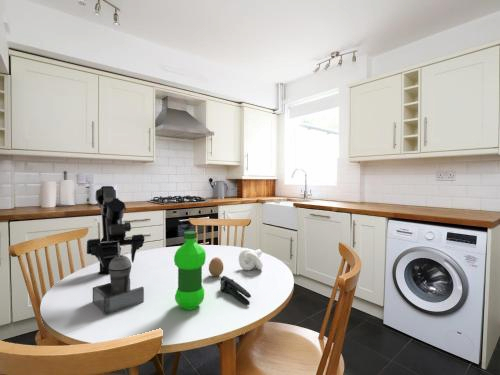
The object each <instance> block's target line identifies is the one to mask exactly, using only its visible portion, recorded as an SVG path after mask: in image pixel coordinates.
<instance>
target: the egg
mask: <svg viewBox="0 0 500 375" xmlns="http://www.w3.org/2000/svg"><path fill="white" fill-rule="evenodd" d="M223 271H224V263H223V260H222V259H221V258H219V257H213V258H212V259H211V260H210V261H209V264H208V272H209V274H210V275H211V276H213V277H219V276H221V275H222V273H223Z"/></svg>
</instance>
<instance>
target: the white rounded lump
mask: <svg viewBox="0 0 500 375" xmlns="http://www.w3.org/2000/svg"><path fill="white" fill-rule="evenodd" d="M262 252H263V251H262V250H261V249H260V248H259V249H256V250H255V252H254V251H253V250H251V249H250V248H244V249H243V250H241V251H240V252H239V255H238V264H239V266H240V268H241V269H242V270H243V271H247V270H248V271H250V270H252V269H254V267H255V269H257V270H259V271H261V270H262V269H263V266H264V265H263V262H262V261H261V259H260V257H261V255H262Z"/></svg>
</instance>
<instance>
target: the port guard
mask: <svg viewBox="0 0 500 375" xmlns="http://www.w3.org/2000/svg"><path fill="white" fill-rule="evenodd" d="M144 289H145V287H144V286H139V287H135V288H133V289H131V277H129V288H128V291H126V292H122V293H119V294H116V295H112V290H111V282H109V283H105V284H101V285H97V286H94V287H92V303H93V304H94V305H95V306H97V308H98V309H99V310H100V311H101V312H102V313H103V314H104V315H105V316H106V315H109V314H113V313H114V312H118V311H121V310H125V309H127V308H130V307H133V306H136V305H138V304H141V303H144V302H145V298H144V297H145V295H144V294H145V293H144V292H145V290H144Z"/></svg>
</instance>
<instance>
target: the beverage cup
mask: <svg viewBox="0 0 500 375" xmlns="http://www.w3.org/2000/svg"><path fill="white" fill-rule="evenodd" d="M108 270H109V278H110V283H111V290H112V295H116V294H119V293H122V292H126V291H128V288H129V278H131V276H130V275H131V270H132V261H131V259H130V258H129V257H128V256H127V255H122V254H121V252H120V248H119V243H118V256H116V257H114V258H113V259H112V260H111V262H110V264H109V268H108Z"/></svg>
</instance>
